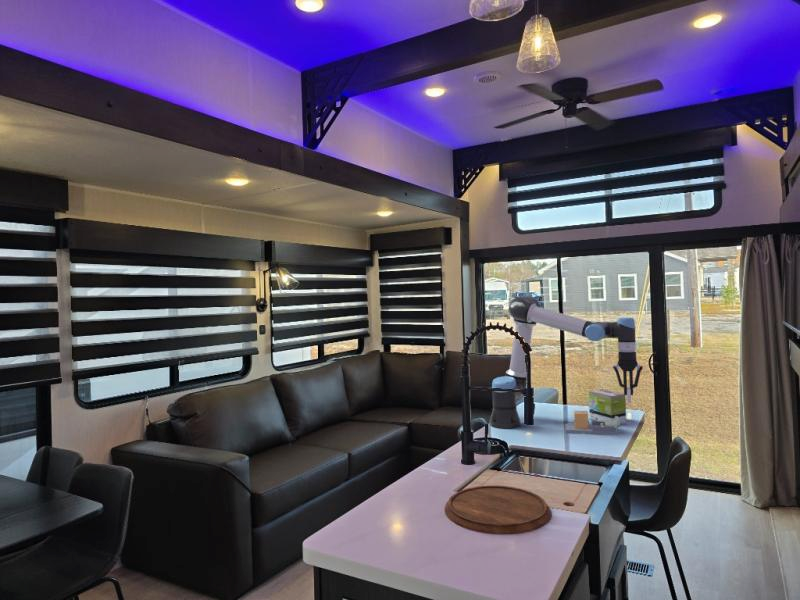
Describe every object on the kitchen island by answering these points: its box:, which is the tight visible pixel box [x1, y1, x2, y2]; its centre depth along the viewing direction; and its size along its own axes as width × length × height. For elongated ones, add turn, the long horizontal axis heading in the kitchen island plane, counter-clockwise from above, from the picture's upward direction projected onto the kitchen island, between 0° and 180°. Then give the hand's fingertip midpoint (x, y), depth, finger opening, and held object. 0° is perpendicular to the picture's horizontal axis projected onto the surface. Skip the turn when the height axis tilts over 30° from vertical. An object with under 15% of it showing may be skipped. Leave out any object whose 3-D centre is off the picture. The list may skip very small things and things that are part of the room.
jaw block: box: [573, 410, 589, 429], centre depth 246 cm, size 6×6×7 cm
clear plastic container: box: [565, 420, 618, 436], centre depth 245 cm, size 22×12×6 cm, turn 72°
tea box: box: [588, 388, 627, 425], centre depth 261 cm, size 15×10×15 cm
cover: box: [604, 416, 621, 428], centre depth 242 cm, size 6×9×3 cm
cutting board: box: [444, 485, 552, 535], centre depth 159 cm, size 32×32×2 cm
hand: (628, 402), depth 240 cm, fingers closed
